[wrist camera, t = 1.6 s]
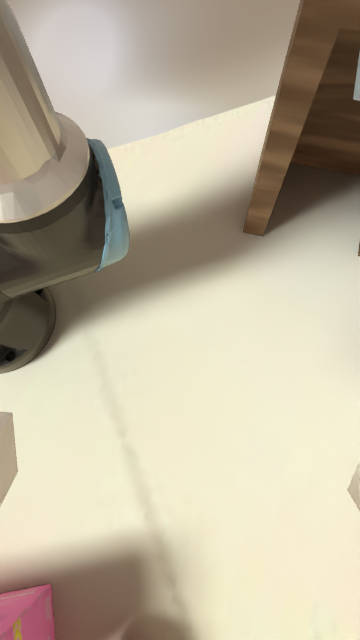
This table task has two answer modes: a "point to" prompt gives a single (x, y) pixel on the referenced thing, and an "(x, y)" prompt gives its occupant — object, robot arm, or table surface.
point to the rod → (357, 83)
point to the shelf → (312, 103)
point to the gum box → (27, 614)
